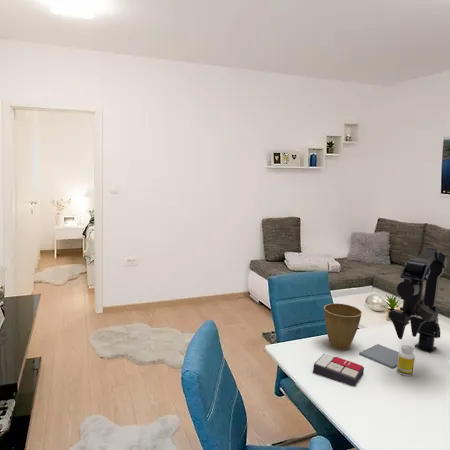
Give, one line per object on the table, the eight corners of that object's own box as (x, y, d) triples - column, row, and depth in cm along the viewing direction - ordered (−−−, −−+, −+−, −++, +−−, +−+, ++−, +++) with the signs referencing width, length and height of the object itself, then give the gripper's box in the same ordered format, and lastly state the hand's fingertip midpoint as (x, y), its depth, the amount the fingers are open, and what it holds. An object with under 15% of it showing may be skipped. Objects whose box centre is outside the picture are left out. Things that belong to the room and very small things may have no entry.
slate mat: (377, 345, 164) (377, 343, 164) (410, 358, 153) (411, 356, 153) (359, 354, 155) (359, 352, 155) (392, 368, 145) (392, 366, 145)
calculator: (356, 377, 131) (313, 362, 139) (354, 389, 132) (312, 373, 140) (364, 365, 140) (324, 351, 148) (363, 376, 141) (323, 361, 149)
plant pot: (314, 342, 166) (316, 305, 163) (340, 336, 172) (343, 301, 170) (338, 357, 152) (342, 318, 150) (366, 350, 159) (369, 313, 157)
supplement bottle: (414, 377, 139) (417, 351, 138) (398, 375, 140) (401, 349, 139) (410, 370, 144) (413, 344, 143) (395, 368, 145) (397, 343, 144)
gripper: (421, 302, 128) (414, 348, 129) (448, 299, 139) (442, 342, 140) (390, 294, 137) (384, 337, 138) (418, 292, 148) (412, 332, 149)
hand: (407, 337), depth 141 cm, fingers open, 9 cm apart
